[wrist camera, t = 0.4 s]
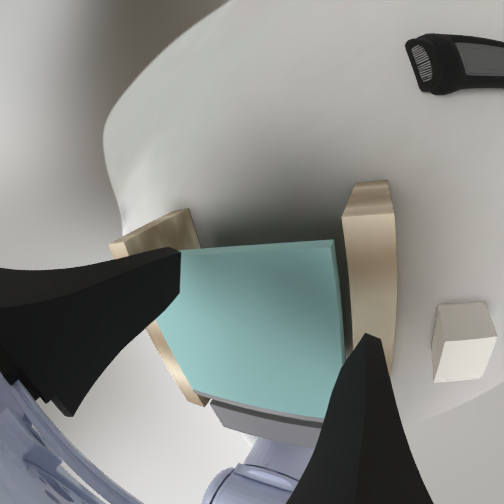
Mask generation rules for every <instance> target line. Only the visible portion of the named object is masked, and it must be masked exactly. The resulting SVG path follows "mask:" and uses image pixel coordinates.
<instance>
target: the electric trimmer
mask: <svg viewBox="0 0 504 504" xmlns="http://www.w3.org/2000/svg"><path fill="white" fill-rule="evenodd" d="M405 47H406V51H407V54H408V56H409V59H410V62H411V65H412V67H413V70H414V73H415V76H416V79H417V83H418V86H419V88H420V89H421V91H424V92H428V91H430V92H431V93H432V94H435V95H445V94H449V93H452V92H455V91H457V90H459V89H465V88H504V42H501V41H496V40H491V39H485V38H479V37H473V36H463V35H448V34H425V35H422V36H420V37H418V38H416V39H411V40H408V41H407V42H406V45H405Z"/></svg>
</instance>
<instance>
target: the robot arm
mask: <svg viewBox="0 0 504 504" xmlns="http://www.w3.org/2000/svg"><path fill="white" fill-rule="evenodd" d="M180 273H181V252H180V251H178V250H176V249H173V248H171V247H164V248H159V249H154V250H150V251H146V252H142V253H138V254H134V255H130V256H126V257H122V258H119V259H114V260H110V261H105V262H101V263H97V264H92V265H87V266H81V267H74V268H66V269H54V270H13V269H4V268H0V504H106V503H104V502H103V501H102V500H100V499H99V498H98V497H96V496H95V495H94V494H93V493H91V492H90V491H89V490H88V489H86V488H85V487H84V486H83V485H81V484H80V483H79V482H78V481H77V480H76V479H75V478H74V477H72V476H71V475H70V474H69V473H68V472H67V471H66V470H65V469H64V468H63V467H62V466H61V465H60V464H61V463H62V460H61V458H62V459H63V460H64V461H65V463H66V464H67V465H68V466H69V467H70V468H71V469H72V470H73V471H74V472H75V473H76V474H77V475H78V476H80V477H81V478H82V479H83V480H84V481H85V482H86V483H87V484H88V485H89V486H90V487H92V488H93V489H94V490H95V491H96V492H97V493H98V494H100V495H101V496H102V497H103V498H105V499H106V500H107V501H108V502H109V503H111V504H144V503H142V502H140V501H139V500H138V499H136V498H135V497H134V496H132V495H131V494H129V493H128V492H127V491H125V490H124V489H123V488H121V487H120V486H119V485H117V484H116V483H115V482H114V481H112V480H111V479H110V478H109V477H108V476H106V475H105V474H104V473H103V472H102V471H100V470H99V469H98V468H97V467H96V466H95V465H94V464H93V463H91V462H90V461H89V460H88V459H87V458H86V457H85V456H84V455H83V454H82V453H81V452H80V451H79V450H78V449H77V448H76V447H75V446H74V445H73V444H72V443H71V442H70V441H69V440H68V439H67V438H66V437H65V436H64V435H63V434H62V433H61V431H60V430H59V429H58V428H57V427H56V426H55V425H54V423H53V422H52V421H51V420H50V419H49V417H48V416H47V415H46V414H45V413H44V412H43V410H42V409H41V408H40V406H39V405H38V404H37V402H36V400H37V399H38V398H39V397H41V398H42V400H43V401H44V402H45V403H48V402H49V401H50V400H52V402H53V403H54V404H55V405H56V406H57V408H58V409H59V410H60V411H61V412H62V413H63V414H64V415H65V416H67V417H73V416H74V414H75V412H76V410H77V409H78V407H79V405H80V404H81V402H82V400H83V399H84V397H85V396H86V394H87V393H88V392H89V390H90V388H91V387H92V386H93V384H94V383H95V382H96V380H97V379H98V377H99V376H100V375H101V374H102V372H103V371H104V370H105V369H106V368H107V366H108V365H109V364H110V363H111V362H112V360H113V359H114V358H115V357H116V356H117V355H118V353H119V352H120V351H121V350H122V349H123V348H124V347H125V346H126V345H127V344H128V343H129V342H130V341H132V340H133V339H134V338H135V337H136V336H137V335H138V334H140V333H141V332H142V331H143V330H144V329H145V328H146V327H147V326H149V325H150V324H151V323H152V322H153V321H154V320H155V319H156V318H158V317H159V316H160V315H161V314H162V313H163V312H164V311H165V310H166V309H167V308H168V307H169V305H170V304H171V303H172V302H173V301H174V300H175V298H176V297H177V296H178V295H179V293H180ZM32 424H33V425H34V427H35V428H36V429H37V430H38V432H39V433H40V434H41V435H42V436H41V435H40V434H39V433H38V432H37V431H35V430H34V429H33V428H32ZM59 456H60V457H61V458H60V457H59ZM202 504H433V502H432V500H431V497H430V496H429V493H428V491H427V489H426V487H425V485H424V483H423V481H422V478H421V476H420V474H419V471H418V468H417V466H416V464H415V461H414V459H413V456H412V454H411V451H410V448H409V445H408V442H407V439H406V436H405V433H404V430H403V427H402V423H401V420H400V416H399V412H398V409H397V405H396V401H395V397H394V393H393V388H392V384H391V380H390V376H389V372H388V367H387V363H386V358H385V354H384V349H383V345H382V341H381V339H380V338H377V337H375V336H372V335H370V334H367V333H365V334H364V335H363V337H362V338H361V340H360V341H359V343H358V344H357V346H356V347H355V349H354V350H353V352H352V353H351V355H350V356H349V357H348V359H347V360H346V362H345V363H344V365H343V366H342V367H341V369H340V372H339V375H338V377H337V380H336V382H335V385H334V388H333V390H332V393H331V397H330V400H329V404H328V408H327V411H326V415H325V418H324V421H323V425H322V428H321V431H320V435H319V438H318V441H317V444H316V447H315V449H314V448H308V447H302V446H297V445H292V444H287V443H282V442H278V441H273V440H269V439H265V438H261V437H258V439H257V441H256V443H255V444H254V446H253V448H252V450H251V451H250V453H249V455H248V456H247V458H246V460H245V462H244V464H240V463H239V464H238V465H237V467H236V468H228V469H226V470H223V471H221V472H220V473H219V474H218V475H217V476H216V477H215V478H214V479H213V481H212V482H211V483H210V485H209V486H208V488H207V490H206V492H205V494H204V497H203V501H202Z"/></svg>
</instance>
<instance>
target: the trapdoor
mask: <svg viewBox="0 0 504 504" xmlns="http://www.w3.org/2000/svg"><path fill="white" fill-rule="evenodd" d="M178 251H180V252H181V273H180V293H179V295H178V296H177V297H176V298H175V300H174V301H173V302H172V303H171V304H170V305H169V307H168V308H167V309H166V310H165V311H164V312H163V313H162V314H161V315H160V316H159V317H158V318H156V319H155V320H156V322H157V324H158V326H159V328H160V330H161V332H162V334H163V336H164V338H165V340H166V342H167V344H168V346H169V348H170V350H171V351H172V353H173V355H174V357H175V359H176V361H177V363H178V364H179V366H180V368H181V370H182V372H183V373H184V375H185V377H186V379H187V380H188V382H189V384H190V385H191V387H192V389H193V392H194V393H195V394H198V395H201V396H204V397H207V398H211V399H213V400H212V401H211V403H210V405H211V407H212V409H213V410H214V412H215V413H216V415H217V416H218V418H219V419H220V421H221V423H222V425H223V426H224V427H226V428H229V429H233V430H236V431H239V432H243V433H246V434H250V435H253V436H257V437H261V438H265V439H269V440H273V441H278V442H282V443H287V444H292V445H297V446H302V447H308V448H314V449H315V447H316V444H317V441H318V438H319V435H320V431H321V428H322V425H323V421H324V418H325V415H326V411H327V408H328V404H329V400H330V397H331V393H332V390H333V388H334V385H335V382H336V380H337V377H338V375H339V372H340V369H341V367H342V366H343V365H344V363H345V343H344V327H343V314H342V303H341V293H340V283H339V274H338V266H337V258H336V251H335V243H334V239H332V240H317V241H302V242H287V243H273V244H258V245H244V246H230V247H216V248H203V249H189V250H178Z"/></svg>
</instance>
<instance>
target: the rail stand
mask: <svg viewBox="0 0 504 504" xmlns="http://www.w3.org/2000/svg"><path fill="white" fill-rule="evenodd" d="M341 218H342V225H343V232H344V240H345V248H346V256H347V265H348V275H349V286H350V299H351V313H352V333H353V350H354V349H355V347H356V346H357V344H358V343H359V341H360V340H361V338H362V337H363V335H364V334H365V333H367V334H370V335H372V336H375V337H377V338H380V339H381V341H382V345H383V349H384V354H385V358H386V363H387V367H388V372H389V376H390V373H391V365H392V357H393V348H394V337H395V324H396V305H397V249H396V230H395V216H394V209H393V204H392V199H391V195H390V190H389V185H388V181H387V180H382V181H371V182H361V183H355V186H354V188H353V191H352V193H351V196H350V198H349V200H348V203H347V205H346V208H345V210H344V212H343V215H342V217H341ZM109 247H110V249H111V252H112V254H113V257H114V259H119V258H122V257H126V256H130V255H134V254H138V253H142V252H146V251H150V250H154V249H159V248H164V247H171V248H173V249H176V250H189V249H201V247H200V244H199V241H198V237H197V234H196V231H195V228H194V225H193V221H192V218H191V215H190V211H189V209H184V210H179V211H174V212H171V213H169V214H167V215H164V216H162V217H160V218H158V219H156V220H154V221H152V222H150V223H148V224H146V225H144V226H142V227H140V228H138V229H136V230H135V231H133V232H131V233H129V234H127V235H125V236H123V237H121V238H119V239H117V240H116V241H114V242H112V243H110V244H109ZM146 330H147V332H148V334H149V336H150V338H151V339H152V341H153V343H154V345H155V347H156V349H157V351H158V352H159V354H160V356H161V358H162V360H163V361H164V363H165V365H166V366H167V368H168V370H169V372H170V373H171V375H172V377H173V378H174V380H175V382H176V383H177V385H178V386H179V388H180V390H181V391H182V393H183V394H184V396H185V397H186V399H187V400H188V401H189V402H191V403H194V404H197V405H200V406H203V407H205V406H206V404H207V403H208V402H209V400H210V399H211V398H207V397H204V396H201V395H198V394H195V393H194V392H193V389H192V387H191V385H190V384H189V382H188V380H187V379H186V377H185V375H184V373H183V372H182V370H181V368H180V366H179V364H178V363H177V361H176V359H175V357H174V355H173V353H172V351H171V350H170V348H169V346H168V344H167V342H166V340H165V338H164V336H163V334H162V332H161V330H160V328H159V326H158V324H157V322H156V320H154V321H153V322H152V323H151V324H150V325H149V326H147V327H146Z"/></svg>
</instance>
